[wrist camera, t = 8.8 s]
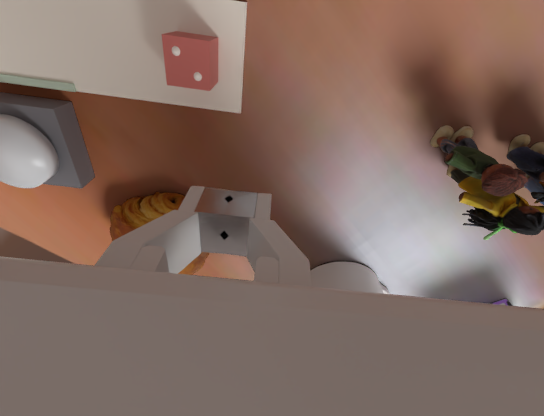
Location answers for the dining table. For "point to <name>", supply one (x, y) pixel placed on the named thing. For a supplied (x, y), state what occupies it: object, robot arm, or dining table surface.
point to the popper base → (54, 134)
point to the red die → (190, 60)
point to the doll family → (496, 181)
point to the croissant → (149, 219)
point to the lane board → (120, 47)
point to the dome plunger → (25, 154)
